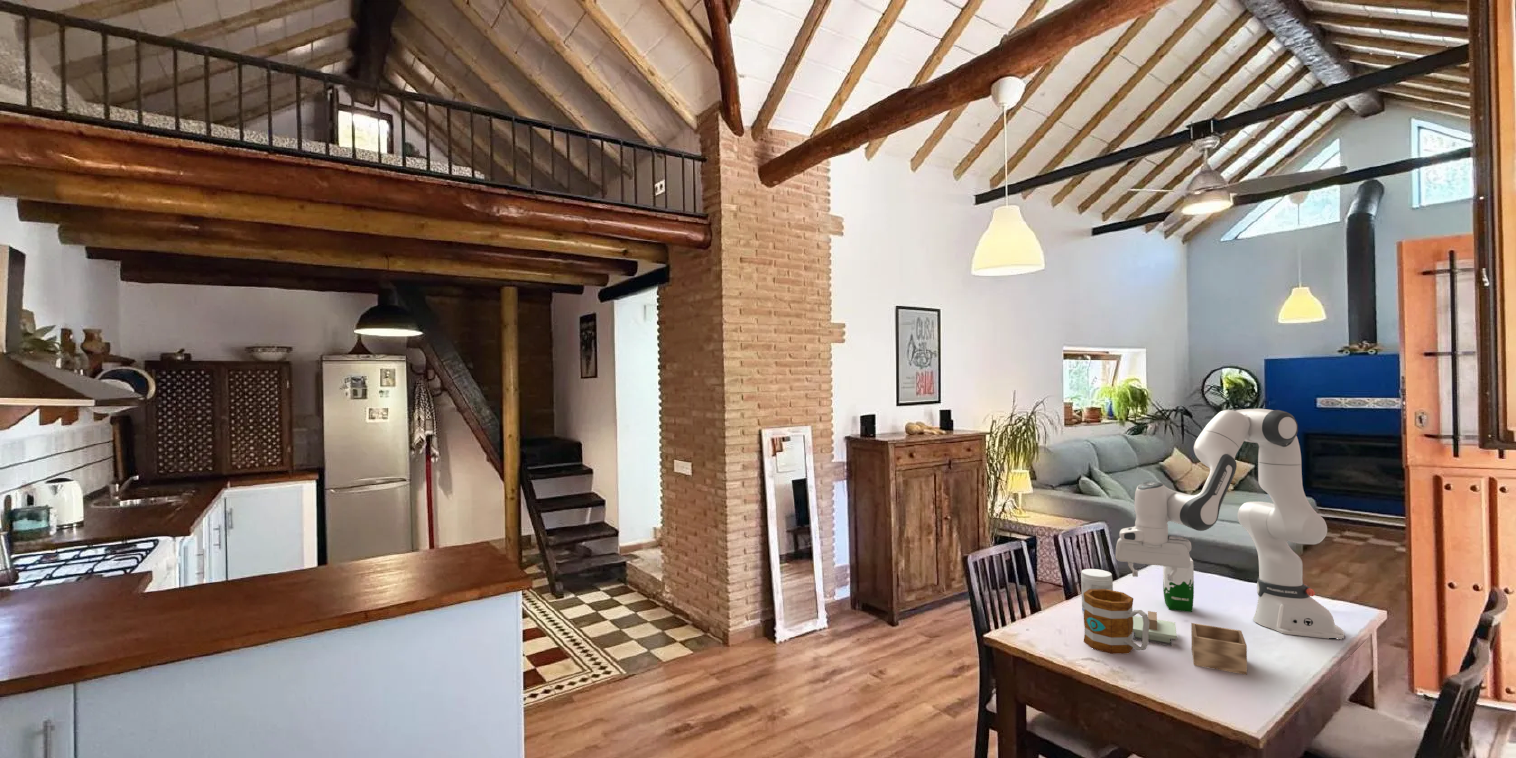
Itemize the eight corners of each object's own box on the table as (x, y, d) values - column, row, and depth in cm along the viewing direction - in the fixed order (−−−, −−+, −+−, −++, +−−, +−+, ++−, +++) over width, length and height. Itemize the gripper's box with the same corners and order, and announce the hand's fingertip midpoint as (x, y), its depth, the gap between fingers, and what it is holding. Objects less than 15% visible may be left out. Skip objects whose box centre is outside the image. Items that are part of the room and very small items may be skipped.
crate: (1241, 658, 187) (1241, 630, 187) (1246, 674, 177) (1246, 645, 177) (1191, 649, 194) (1191, 622, 194) (1194, 665, 183) (1193, 636, 183)
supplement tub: (1119, 616, 220) (1118, 573, 220) (1103, 623, 215) (1103, 578, 215) (1091, 608, 228) (1090, 566, 228) (1075, 614, 223) (1075, 571, 223)
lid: (1175, 631, 206) (1175, 612, 206) (1176, 645, 195) (1176, 626, 195) (1130, 624, 212) (1130, 606, 212) (1129, 637, 202) (1129, 618, 202)
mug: (1073, 640, 201) (1073, 592, 201) (1104, 633, 207) (1104, 586, 206) (1132, 666, 183) (1131, 613, 183) (1164, 657, 188) (1163, 606, 188)
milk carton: (1190, 605, 231) (1189, 548, 230) (1196, 613, 222) (1195, 555, 222) (1161, 602, 234) (1161, 546, 234) (1166, 610, 226) (1165, 552, 225)
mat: (1170, 632, 206) (1170, 631, 206) (1171, 646, 196) (1171, 644, 196) (1134, 626, 212) (1134, 625, 212) (1133, 639, 201) (1133, 638, 201)
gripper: (1190, 535, 201) (1191, 580, 201) (1115, 529, 212) (1116, 571, 212) (1191, 540, 196) (1192, 586, 196) (1114, 533, 206) (1115, 576, 206)
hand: (1152, 578), depth 204 cm, fingers open, 8 cm apart
